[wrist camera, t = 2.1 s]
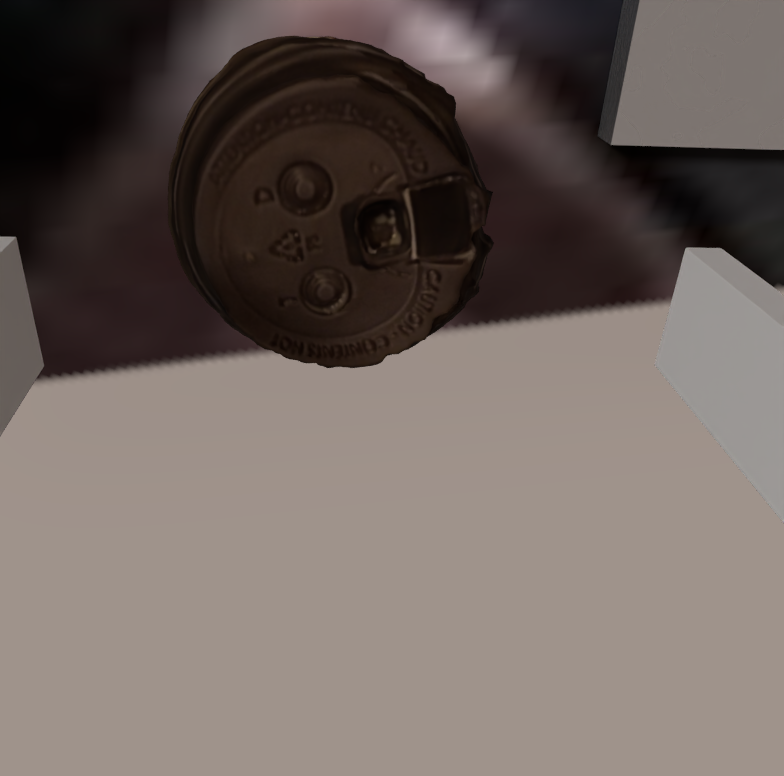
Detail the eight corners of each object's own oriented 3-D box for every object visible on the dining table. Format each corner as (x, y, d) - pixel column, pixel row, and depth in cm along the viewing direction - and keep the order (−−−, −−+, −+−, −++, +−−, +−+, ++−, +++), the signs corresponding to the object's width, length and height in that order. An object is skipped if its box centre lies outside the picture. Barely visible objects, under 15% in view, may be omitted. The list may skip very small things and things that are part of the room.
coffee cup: (476, 88, 29) (588, 183, 17) (369, 266, 32) (405, 440, 21) (270, -46, 26) (248, -34, 14) (175, 166, 29) (99, 308, 18)
